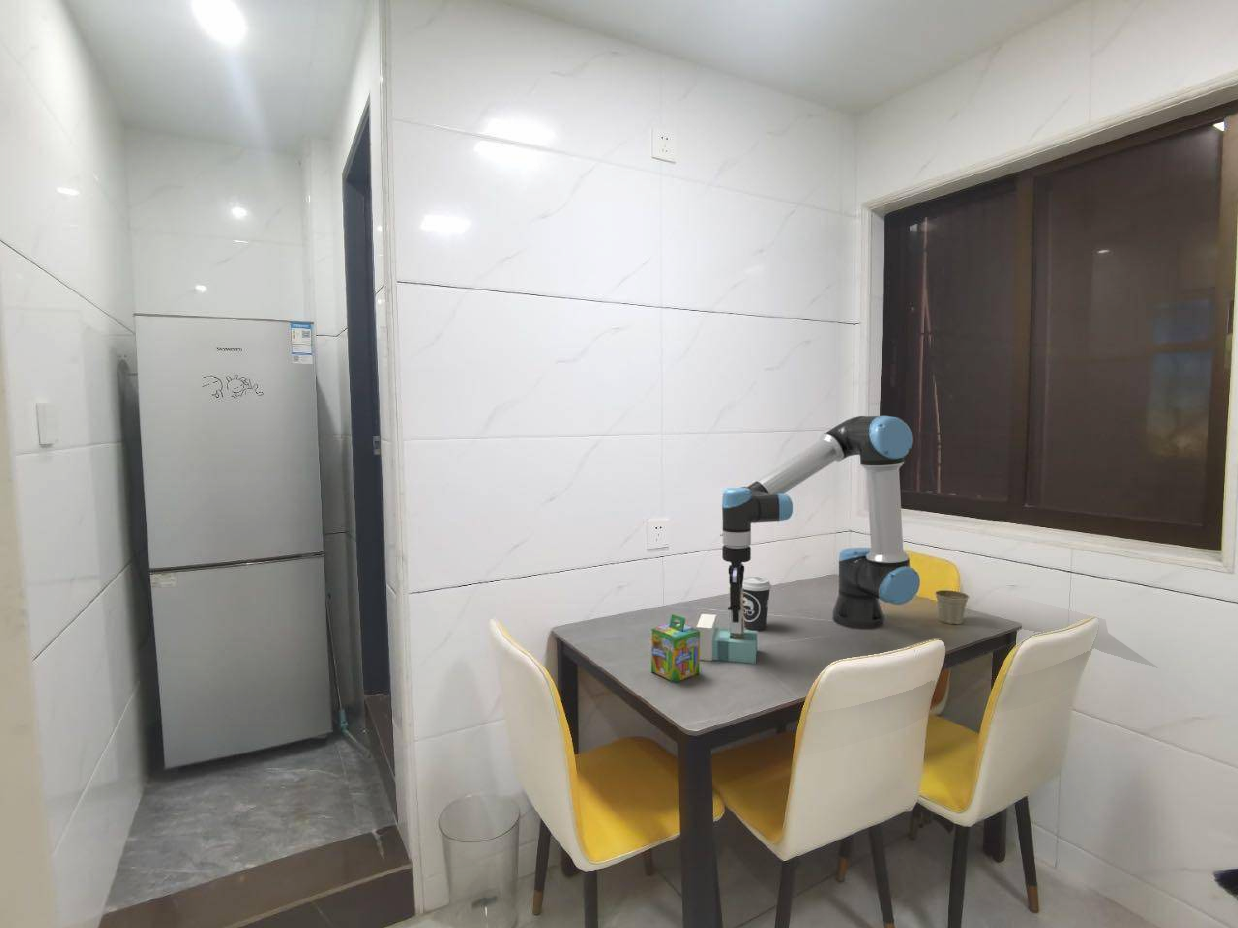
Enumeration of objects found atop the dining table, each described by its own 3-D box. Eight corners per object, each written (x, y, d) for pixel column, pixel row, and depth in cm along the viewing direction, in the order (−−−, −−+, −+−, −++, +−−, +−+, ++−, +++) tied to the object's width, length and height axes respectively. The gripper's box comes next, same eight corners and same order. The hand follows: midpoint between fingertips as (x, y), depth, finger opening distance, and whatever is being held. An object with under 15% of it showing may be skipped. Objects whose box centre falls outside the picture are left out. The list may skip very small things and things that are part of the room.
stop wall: (716, 645, 173) (716, 614, 173) (711, 660, 163) (711, 628, 162) (702, 644, 175) (701, 613, 174) (696, 659, 164) (696, 626, 163)
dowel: (744, 640, 167) (743, 586, 166) (743, 644, 164) (742, 590, 163) (731, 639, 168) (730, 586, 167) (729, 644, 165) (728, 589, 164)
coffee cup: (771, 633, 182) (772, 584, 181) (739, 631, 184) (739, 583, 183) (770, 622, 191) (770, 576, 190) (739, 621, 193) (739, 574, 192)
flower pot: (970, 619, 191) (971, 593, 190) (966, 628, 183) (967, 600, 183) (937, 614, 197) (937, 588, 196) (931, 622, 189) (932, 595, 188)
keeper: (757, 650, 170) (757, 631, 169) (755, 663, 161) (755, 643, 160) (715, 646, 173) (715, 627, 172) (711, 659, 164) (711, 639, 163)
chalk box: (650, 671, 157) (649, 616, 155) (676, 662, 162) (675, 608, 161) (675, 684, 149) (674, 625, 148) (701, 673, 155) (701, 617, 154)
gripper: (725, 538, 173) (725, 618, 175) (719, 551, 157) (719, 639, 159) (752, 539, 171) (752, 620, 173) (748, 553, 155) (748, 642, 157)
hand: (736, 629), depth 166 cm, fingers closed on dowel, 3 cm apart
